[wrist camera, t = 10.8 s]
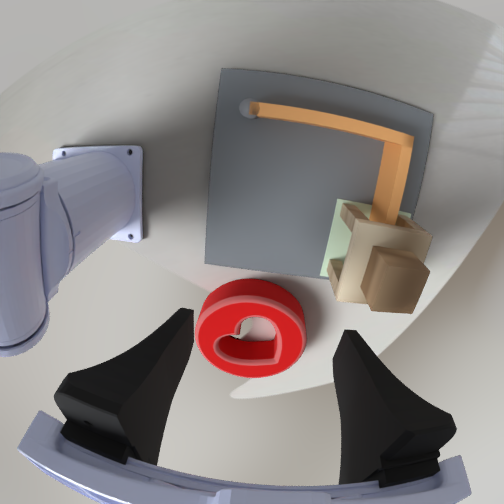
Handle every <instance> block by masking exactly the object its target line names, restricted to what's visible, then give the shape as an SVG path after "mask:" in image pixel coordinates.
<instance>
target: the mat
mask: <svg viewBox="0 0 504 504" xmlns="http://www.w3.org/2000/svg"><path fill="white" fill-rule="evenodd" d="M247 98H252V99H255V100H256V101H257V102H260V103H269V104H277V105H284V106H291V107H297V108H303V109H309V110H314V111H319V112H324V113H329V114H334V115H339V116H343V117H347V118H352V119H356V120H360V121H364V122H367V123H371V124H375V125H378V126H382V127H385V128H389V129H392V130H395V131H398V132H402V133H405V134H408V135H411V136H414V142H413V148H412V153H411V159H410V164H409V169H408V174H407V179H406V183H405V188H404V192H403V196H402V200H401V204H400V208H399V211H402V212H407V213H411V217H410V219H411V220H412V219H413V215H414V212H415V208H416V204H417V200H418V196H419V192H420V188H421V183H422V179H423V174H424V169H425V164H426V159H427V154H428V148H429V142H430V136H431V129H432V122H433V114H431V113H429V112H426V111H424V110H421V109H419V108H416V107H413V106H411V105H408V104H405V103H402V102H399V101H396V100H393V99H390V98H387V97H384V96H381V95H378V94H374V93H371V92H367V91H364V90H360V89H356V88H352V87H348V86H344V85H340V84H336V83H331V82H327V81H322V80H317V79H312V78H306V77H300V76H294V75H287V74H280V73H273V72H264V71H254V70H242V69H225V68H221V76H220V83H219V91H218V100H217V108H216V117H215V127H214V136H213V147H212V158H211V169H210V181H209V195H208V209H207V225H206V243H205V264H211V265H219V266H226V267H233V268H241V269H248V270H256V271H263V272H271V273H279V274H287V275H295V276H303V277H311V278H319V279H328V280H330V279H329V277H325V276H320V272H321V269H322V265H323V261H324V256H325V252H326V248H327V244H328V240H329V235H330V231H331V227H332V222H333V217H334V213H335V208H336V203H337V198H338V199H343V200H349V201H354V202H359V203H364V204H369V205H372V203H373V198H374V194H375V189H376V185H377V180H378V175H379V170H380V165H381V160H382V154H383V149H384V143H385V142H383V141H380V140H376V139H372V138H368V137H364V136H360V135H356V134H352V133H348V132H343V131H339V130H334V129H329V128H324V127H319V126H314V125H308V124H302V123H296V122H290V121H283V120H276V119H268V118H260V117H258V118H257V119H249V118H247V117H245V116H243V115H242V114H241V113H240V110H239V106H240V103H241V102H242V101H243V100H244V99H247Z"/></svg>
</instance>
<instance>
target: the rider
mask: <svg viewBox="0 0 504 504" xmlns="http://www.w3.org/2000/svg"><path fill="white" fill-rule="evenodd" d="M340 217H341V218H342V220H343V221H344V222H345V224H346V225H347V227H348V228H349V230H350V231H351V232H352V235H351V239H350V243H349V247H348V250H347V254H346V258H345V261H344V265H343V264H342V261H338V260H330V259H329V263H328V267H327V273H328V276H329V279H330V282H331V285H332V288H333V291H334V294H335V297H336V300H337V301H339V302H350V303H361V304H368V305H369V307H370V309H371V311H377V312H391V313H408V314H412V313H413V311H414V309H415V307H416V304H417V302H418V300H419V298H420V295H421V293H422V291H423V288H424V286H425V284H426V281H427V279H428V276H429V274H430V271H429V270H428V268H427V267H426V266H425V265H424V261H425V258H426V255H427V252H428V249H429V246H430V243H431V240H432V237H433V236H431V235H430V234H429V233H428V232H427V231H425V230H424V229H423V228H422V227H420V226H419V225H418V224H417V223H415V222H414V221H413V220H411V219H410V218H409V217H408V216H405V215H400V214H398V216H397V220H396V223H395V225H390V224H385V223H380V222H375V221H370V220H369V219H368V218H367V217H366V216H365V215H364V214H363V213H362V212H361V211H360V210H359V209H358V208H357V207H356V206H355V205H351V204H345V203H342V208H341V212H340Z"/></svg>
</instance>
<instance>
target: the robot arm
mask: <svg viewBox="0 0 504 504" xmlns="http://www.w3.org/2000/svg"><path fill="white" fill-rule="evenodd" d="M130 149H131V150H132V152H133V153H132V155H130V154H129V150H130ZM64 152H66V155H65V154H64ZM142 162H143V149H142V148H141V147H140V146H85V147H67V148H57V149H55V150H54V151H53V161H49V162H46V163H43V164H39V165H38V164H37V163H36V162H35V161H34V160H33V159H32V158H31V157H29V156H26V155H23V154H18V153H6V152H2V153H0V357H10V356H14V355H19V354H21V353H24V352H26V351H27V350H29V349H31V348H32V347H33V346H35V345H36V344H37V343H38V342H39V341H40V340H41V339H42V337H43V336H44V334H45V332H46V330H47V328H48V324H49V317H50V316H49V315H50V313H49V307H48V301H49V300H50V299H51V298H52V297H53V296H54V295H55V294H56V293H57V292H58V286H59V283H60V281H61V280H62V279H63V278H64V277H65V276H66V275H67V274H69V273H70V271H72V270H73V269H74V268H75V267H76V266H78V265H79V264H80V263H81V262H82V261H83V260H84V259H86V258H87V257H88V256H89V255H90V254H91V253H92V252H94V251H95V250H96V249H97V248H99V247H100V246H101V245H102V244H103V243H105V242H106V241H107V240H108V239H114V240H121V241H128V242H135V243H138V242H140V241H141V240H142V239H143V227H142ZM130 234H132V235H133V238H132V237H131V236H130ZM193 314H194V310H191V309H186V308H180V309H179V310H178V311H177V312H175V313H174V314H173V315H172V316H171V317H170V318H169V319H168V320H167V321H166V322H165V323H164V324H162V325H161V326H160V327H159V328H158V329H157V330H155V331H154V332H153V333H152V334H150V335H149V336H148V337H146V338H145V339H144V340H142V341H141V342H140V343H138V344H137V345H135V346H134V347H132V348H131V349H129V350H127V351H126V352H124V353H122V354H120V355H118V356H116V357H115V358H113V359H110V360H108V361H106V362H103V363H101V364H98V365H96V366H93V367H90V368H87V369H84V370H80V371H76V372H72V373H69V374H68V375H67V376H66V377H65V379H64V380H63V381H62V383H61V385H60V386H59V388H58V390H57V391H56V393H55V394H54V399H55V402H56V404H57V406H58V407H59V409H60V410H61V412H62V413H63V415H64V416H65V417H66V419H67V421H66V422H65V424H63V423H62V422H60V421H59V420H57V419H55V418H53V417H52V416H50V415H48V414H46V413H45V412H43V411H39V412H38V414H37V415H36V417H35V418H34V420H33V422H32V423H31V425H30V427H29V429H28V430H27V432H26V433H25V435H24V437H23V439H22V440H21V442H20V444H19V446H18V447H17V449H18V451H19V452H20V453H21V454H23V455H24V456H25V457H26V458H27V459H28V460H29V461H31V462H32V463H33V464H34V465H35V466H36V467H38V468H39V469H40V470H41V471H43V472H44V473H46V474H47V475H49V476H50V477H52V478H54V479H55V480H58V481H59V482H61V483H62V484H64V485H66V486H68V487H69V488H71V489H73V490H75V491H77V492H79V493H81V494H83V495H84V496H86V497H88V498H90V499H92V500H94V501H97V502H99V503H101V504H455V503H457V502H459V501H461V500H463V499H464V498H466V497H468V496H470V495H471V489H470V485H469V482H468V478H467V474H466V471H465V467H464V464H463V461H462V457H461V455H458V456H455V457H452V458H449V459H446V460H443V461H442V462H439V463H438V460H437V458H438V457H439V456H440V452H439V449H440V448H441V447H443V446H444V445H445V444H446V443H447V442H448V441H449V440H450V439H451V438H452V437H453V436H454V434H455V433H456V430H457V428H456V426H455V423H454V420H453V418H452V415H451V414H449V413H447V412H445V411H443V410H441V409H439V408H437V407H435V406H433V405H432V404H430V403H428V402H427V401H425V400H424V399H422V398H421V397H419V396H418V395H417V394H415V393H414V392H413V391H411V390H410V389H409V388H408V387H406V386H405V385H404V384H403V383H402V382H401V381H400V380H399V379H397V378H396V377H395V376H394V375H393V374H392V373H391V371H390V370H389V369H388V368H387V367H386V366H385V365H384V364H383V363H382V362H381V360H380V359H379V358H378V357H377V356H376V354H375V353H374V352H373V351H372V349H371V348H370V347H369V346H368V344H367V343H366V342H365V341H364V339H363V338H362V337H361V336H360V334H359V333H358V332H357V331H356V330H344V332H343V335H342V337H341V340H340V342H339V345H338V347H337V350H336V352H335V354H334V357H333V377H334V383H335V388H336V394H337V399H338V405H339V411H340V417H341V437H342V438H341V467H340V478H339V485H327V486H275V485H259V484H247V483H239V482H232V481H224V480H218V479H212V478H206V477H201V476H196V475H191V474H187V473H182V472H178V471H174V470H170V469H166V468H162V467H159V466H157V462H158V457H159V452H160V447H161V442H162V438H163V433H164V429H165V425H166V421H167V417H168V414H169V410H170V406H171V403H172V399H173V397H174V394H175V392H176V389H177V387H178V384H179V382H180V380H181V377H182V375H183V373H184V370H185V367H186V365H187V363H188V360H189V357H190V354H191V350H192V347H193V343H194V317H193V316H194V315H193Z"/></svg>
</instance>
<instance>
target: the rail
mask: <svg viewBox="0 0 504 504" xmlns="http://www.w3.org/2000/svg"><path fill="white" fill-rule="evenodd" d="M239 110H240V113H241V114H242V115H243V116H245V117H247V118H249V119H257V118H258V117H260V118H268V119H276V120H283V121H290V122H296V123H302V124H308V125H314V126H319V127H324V128H329V129H334V130H339V131H343V132H348V133H352V134H356V135H360V136H364V137H368V138H372V139H376V140H380V141H383V142H385V143H384V149H383V154H382V160H381V165H380V170H379V175H378V180H377V185H376V189H375V194H374V198H373V203H372V209H371V213H370V217H369V220H370V221H375V222H380V223H385V224H390V225H395V223H396V220H397V216H398V212H399V208H400V204H401V200H402V196H403V192H404V188H405V183H406V179H407V174H408V169H409V164H410V159H411V153H412V148H413V142H414V136H411V135H408V134H405V133H402V132H398V131H395V130H392V129H389V128H385V127H382V126H378V125H375V124H371V123H367V122H364V121H360V120H356V119H352V118H347V117H343V116H339V115H334V114H329V113H324V112H319V111H314V110H309V109H303V108H297V107H291V106H284V105H277V104H269V103H260V102H257V101H256V100H255V99H252V98H247V99H244V100H243V101H242V102H241V103H240V106H239Z"/></svg>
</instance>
